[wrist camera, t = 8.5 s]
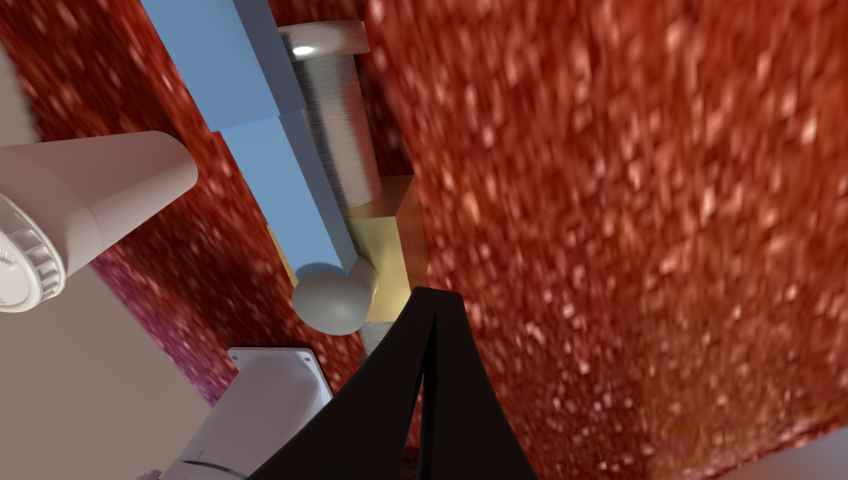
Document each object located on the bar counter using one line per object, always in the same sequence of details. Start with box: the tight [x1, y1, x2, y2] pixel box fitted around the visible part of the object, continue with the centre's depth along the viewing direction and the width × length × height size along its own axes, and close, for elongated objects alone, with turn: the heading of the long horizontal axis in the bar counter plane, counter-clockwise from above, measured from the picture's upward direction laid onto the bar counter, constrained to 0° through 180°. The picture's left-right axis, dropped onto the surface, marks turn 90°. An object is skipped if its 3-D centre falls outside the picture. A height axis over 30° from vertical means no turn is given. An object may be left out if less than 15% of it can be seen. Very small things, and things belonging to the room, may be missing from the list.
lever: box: [140, 0, 378, 335], centre depth 12 cm, size 13×3×2 cm, turn 13°
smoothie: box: [0, 131, 198, 312], centre depth 13 cm, size 6×6×14 cm
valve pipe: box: [266, 20, 429, 380], centre depth 17 cm, size 20×6×5 cm, turn 8°
